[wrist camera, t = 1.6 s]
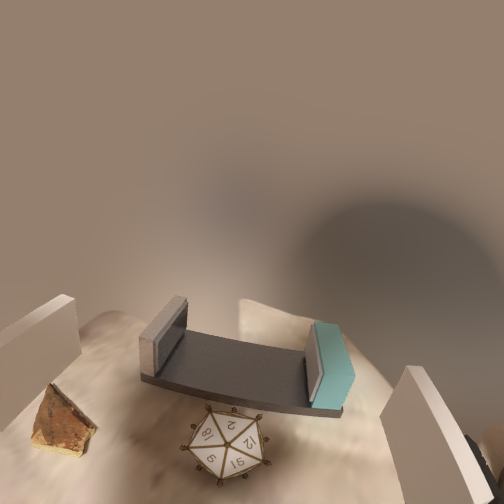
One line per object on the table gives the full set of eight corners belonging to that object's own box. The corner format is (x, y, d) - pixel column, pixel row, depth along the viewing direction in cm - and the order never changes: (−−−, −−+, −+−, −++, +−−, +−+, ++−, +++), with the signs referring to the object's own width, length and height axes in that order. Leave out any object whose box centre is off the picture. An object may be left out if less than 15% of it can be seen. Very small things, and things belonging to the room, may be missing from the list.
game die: (204, 474, 26) (165, 405, 27) (269, 446, 29) (237, 377, 30) (217, 516, 17) (164, 436, 18) (301, 479, 20) (261, 397, 21)
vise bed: (339, 418, 33) (358, 377, 31) (141, 380, 35) (138, 336, 33) (328, 362, 47) (340, 325, 45) (173, 333, 49) (175, 295, 47)
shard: (51, 389, 28) (48, 379, 28) (102, 397, 30) (100, 387, 30) (32, 449, 18) (26, 440, 18) (93, 462, 20) (89, 454, 20)
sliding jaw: (340, 410, 33) (355, 376, 31) (308, 407, 33) (321, 372, 32) (328, 354, 46) (338, 324, 45) (303, 351, 47) (312, 320, 45)
